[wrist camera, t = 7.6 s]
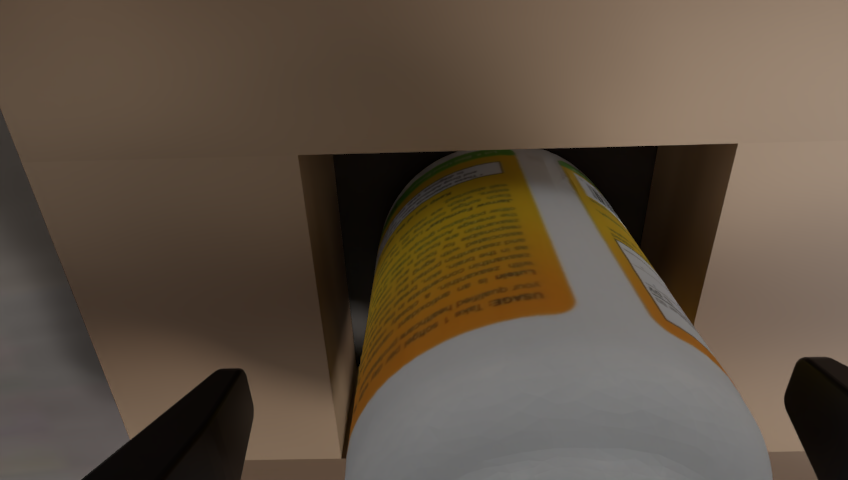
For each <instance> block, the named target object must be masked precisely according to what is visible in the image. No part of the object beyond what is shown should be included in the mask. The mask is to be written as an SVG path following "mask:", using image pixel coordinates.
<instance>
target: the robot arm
mask: <svg viewBox="0 0 848 480" xmlns="http://www.w3.org/2000/svg"><path fill="white" fill-rule="evenodd" d="M784 405H785V409H786V412H787V414H788V416H789V418H790V420H791V423H792V425H793V427H794V429H795V431H796V433H797V435H798V438H799V440H800V442H801V444H802V446H803V448H804V451H805V453H806V455H807V457H808V459H809V461H810V464H811V466H812V468H813V470H814V472H815V474H816V477H817V479H818V480H848V366H846V365H844V364H842V363H840V362H838V361H836V360H834V359H832V358H829V357H803V358H800V359H799V360H798V361H797V362H796V364H795V366H794V369H793V372H792V375H791V377H790V380H789V383H788V385H787V388H786V391H785V394H784ZM253 418H254V405H253V401H252V396H251V392H250V388H249V384H248V379H247V375H246V373H245V371H244V370H243V369H241V368H222V369H218V370H216V371H215V372H213V373H212V374H211V375H210V376H208V377H207V378H206V379H205V380H204V381H202V382H201V383H200V384H199V385H197V386H196V387H195V388H194V389H192V390H191V391H190V392H189V393H187V394H186V395H185V396H184V397H183V398H181V399H180V400H179V401H178V402H176V403H175V404H174V405H173V406H171V407H170V408H169V409H168V410H167V411H165V412H164V413H163V414H162V415H160V416H159V417H158V418H157V419H155V420H154V421H153V422H152V423H151V424H149V425H148V426H147V427H146V428H144V429H143V430H142V431H141V432H139V433H138V434H137V435H136V436H135V437H133V438H132V439H131V440H130V441H128V442H127V443H126V444H125V445H123V446H122V447H121V448H120V449H118V450H117V451H116V452H115V453H114V454H112V455H111V456H110V457H109V458H107V459H106V460H105V461H104V462H102V463H101V464H100V465H99V466H98V467H96V468H95V469H94V470H93V471H91V472H90V473H89V474H88V475H86V476H85V477H84V478H83V479H82V480H241V476H242V471H243V466H244V462H245V457H246V452H247V447H248V442H249V438H250V433H251V428H252V423H253Z"/></svg>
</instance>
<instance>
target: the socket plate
mask: <svg viewBox="0 0 848 480" xmlns="http://www.w3.org/2000/svg"><path fill="white" fill-rule="evenodd" d="M0 109H1V111H2V114H3V116H4V119H5V122H6V124H7V127H8V129H9V132H10V134H11V137H12V139H13V142H14V145H15V147H16V150H17V152H18V155H19V157H20V160H21V162H22V165H23V168H24V170H25V173H26V175H27V178H28V180H29V183H30V185H31V188H32V190H33V193H34V196H35V198H36V201H37V203H38V206H39V208H40V211H41V213H42V216H43V219H44V221H45V224H46V226H47V229H48V231H49V234H50V236H51V239H52V242H53V244H54V247H55V249H56V252H57V254H58V257H59V259H60V262H61V265H62V267H63V270H64V272H65V275H66V277H67V280H68V282H69V285H70V287H71V290H72V293H73V295H74V298H75V300H76V303H77V305H78V308H79V310H80V313H81V316H82V318H83V321H84V323H85V326H86V328H87V331H88V333H89V336H90V339H91V341H92V344H93V346H94V349H95V351H96V354H97V356H98V359H99V362H100V364H101V367H102V369H103V372H104V374H105V377H106V379H107V382H108V384H109V387H110V390H111V392H112V395H113V397H114V400H115V402H116V405H117V407H118V410H119V413H120V415H121V418H122V420H123V423H124V425H125V428H126V430H127V433H128V436H129V438H130V440H131V439H132V438H133V437H135V436H136V435H137V434H138V433H139V432H141V431H142V430H143V429H144V428H146V427H147V426H148V425H149V424H151V423H152V422H153V421H154V420H155V419H157V418H158V417H159V416H160V415H162V414H163V413H164V412H165V411H167V410H168V409H169V408H170V407H171V406H173V405H174V404H175V403H176V402H178V401H179V400H180V399H181V398H183V397H184V396H185V395H186V394H187V393H189V392H190V391H191V390H192V389H194V388H195V387H196V386H197V385H199V384H200V383H201V382H202V381H204V380H205V379H206V378H207V377H208V376H210V375H211V374H212V373H213V372H215V371H216V370H218V369H222V368H241V369H243V370H244V371H245V373H246V375H247V379H248V384H249V388H250V392H251V396H252V401H253V405H254V418H253V423H252V428H251V433H250V438H249V442H248V447H247V452H246V457H245V462H244V466H243V471H242V476H241V480H345V472H346V455H347V449H348V442H349V434H350V427H351V422H352V415H353V408H354V401H355V394H356V387H357V382H358V373H359V367H357V365H356V356H355V347H354V338H353V330H352V321H351V312H350V303H349V294H348V285H347V276H346V267H345V258H344V250H343V241H342V232H341V223H340V214H339V205H338V196H337V187H336V178H335V169H334V161H333V154H359V153H397V152H434V151H472V150H510V149H547V148H585V147H622V146H658V149H657V155H656V160H655V166H654V172H653V177H652V183H651V189H650V194H649V200H648V206H647V212H646V217H645V223H644V229H643V234H642V240H641V246H640V249H641V251H642V252H643V254H644V255H645V256H646V258H647V259H648V261H649V262H650V264H651V265H652V267H653V268H654V270H655V271H656V272H657V274H658V275H659V277H660V278H661V279H662V281H663V282H664V283H665V285H666V287H667V288H668V290H669V291H670V293H671V294H672V296H673V297H674V299H675V300H676V302H677V303H678V305H679V306H680V307H681V309H682V310H683V312H684V313H685V315H686V316H687V317H688V319H689V320H690V322H691V323H692V325H693V326H694V327H695V329H696V330H697V332H698V333H699V335H700V336H701V337H702V339H703V340H704V342H705V343H706V345H707V346H708V348H709V349H710V351H711V352H712V353H713V355H714V356H715V358H716V359H717V361H718V362H719V364H720V365H721V366H722V368H723V369H724V371H725V372H726V373H727V375H728V376H729V378H730V379H731V381H732V382H733V384H734V385H735V387H736V388H737V390H738V391H739V393H740V395H741V397H742V399H743V401H744V402H745V404H746V406H747V407H748V409H749V410H750V412H751V414H752V416H753V418H754V419H755V421H756V423H757V425H758V427H759V429H760V431H761V434H762V436H763V439H764V441H765V445H766V448H767V451H768V455H769V458H770V464H771V469H772V478H773V480H818V479H817V477H816V474H815V472H814V470H813V468H812V466H811V464H810V461H809V459H808V457H807V455H806V453H805V451H804V448H803V446H802V444H801V442H800V440H799V438H798V435H797V433H796V431H795V429H794V427H793V425H792V423H791V420H790V418H789V416H788V414H787V412H786V409H785V405H784V394H785V391H786V388H787V385H788V383H789V380H790V377H791V375H792V372H793V369H794V366H795V364H796V362H797V361H798V360H799V359H800V358H803V357H829V358H832V359H834V360H836V361H838V362H840V363H842V364H844V365H846V366H848V0H0Z"/></svg>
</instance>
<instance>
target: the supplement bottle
mask: <svg viewBox="0 0 848 480" xmlns="http://www.w3.org/2000/svg"><path fill="white" fill-rule="evenodd" d="M345 480H773V478H772V469H771V464H770V458H769V455H768V451H767V448H766V445H765V441H764V439H763V436H762V434H761V431H760V429H759V427H758V425H757V423H756V421H755V419H754V418H753V416H752V414H751V412H750V410H749V409H748V407H747V406H746V404H745V402H744V401H743V399H742V397H741V395H740V393H739V391H738V390H737V388H736V387H735V385H734V384H733V382H732V381H731V379H730V378H729V376H728V375H727V373H726V372H725V371H724V369H723V368H722V366H721V365H720V364H719V362H718V361H717V359H716V358H715V356H714V355H713V353H712V352H711V351H710V349H709V348H708V346H707V345H706V343H705V342H704V340H703V339H702V337H701V336H700V335H699V333H698V332H697V330H696V329H695V327H694V326H693V325H692V323H691V322H690V320H689V319H688V317H687V316H686V315H685V313H684V312H683V310H682V309H681V307H680V306H679V305H678V303H677V302H676V300H675V299H674V297H673V296H672V294H671V293H670V291H669V290H668V288H667V287H666V285H665V283H664V282H663V281H662V279H661V278H660V277H659V275H658V274H657V272H656V271H655V270H654V268H653V267H652V265H651V264H650V262H649V261H648V259H647V258H646V256H645V255H644V254H643V252H642V251H641V249H640V248H639V246H638V245H637V243H636V242H635V241H634V239H633V238H632V236H631V235H630V233H629V232H628V230H627V229H626V227H625V226H624V225H623V223H622V222H621V221H620V219H619V217H618V216H617V214H616V213H615V212H614V210H613V209H612V207H611V205H610V204H609V203H608V201H607V200H606V199H605V197H604V196H603V195H602V193H601V192H600V191H599V189H598V188H597V187H596V186H595V185H594V184H593V182H592V181H591V180H590V179H589V178H588V177H587V176H586V175H585V174H584V173H583V172H581V171H580V170H579V169H578V168H577V167H575V166H574V165H573V164H571V163H570V162H568V161H567V160H565V159H563V158H561V157H560V156H558V155H556V154H553V153H551V152H549V151H546V150H543V149H510V150H472V151H457V152H455V153H452V154H450V155H447V156H445V157H443V158H441V159H439V160H437V161H435V162H434V163H432V164H431V165H429V166H428V167H426V168H425V169H424V170H422V171H421V172H420V173H418V174H417V175H416V176H415V177H414V178H413V179H412V180H411V181H410V182H409V183H408V184H407V185H406V186H405V188H404V189H403V190H402V192H401V193H400V194H399V196H398V197H397V199H396V200H395V202H394V203H393V205H392V207H391V209H390V211H389V213H388V216H387V218H386V221H385V224H384V227H383V230H382V234H381V238H380V243H379V248H378V253H377V259H376V266H375V275H374V281H373V288H372V294H371V300H370V307H369V313H368V319H367V326H366V332H365V338H364V344H363V351H362V355H361V359H360V366H359V373H358V382H357V387H356V394H355V401H354V408H353V415H352V422H351V427H350V434H349V442H348V449H347V455H346V472H345Z"/></svg>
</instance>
